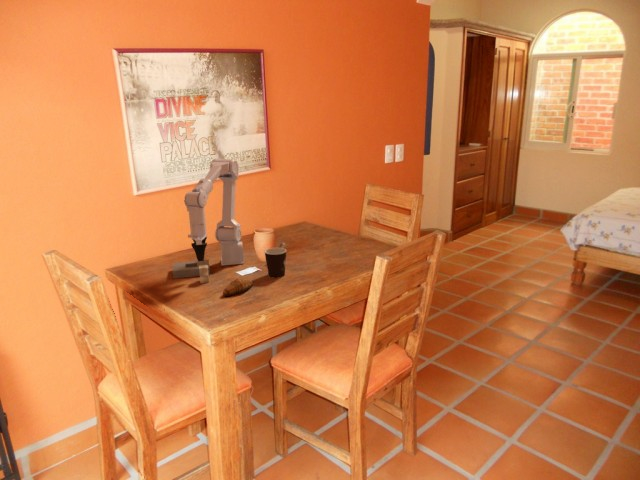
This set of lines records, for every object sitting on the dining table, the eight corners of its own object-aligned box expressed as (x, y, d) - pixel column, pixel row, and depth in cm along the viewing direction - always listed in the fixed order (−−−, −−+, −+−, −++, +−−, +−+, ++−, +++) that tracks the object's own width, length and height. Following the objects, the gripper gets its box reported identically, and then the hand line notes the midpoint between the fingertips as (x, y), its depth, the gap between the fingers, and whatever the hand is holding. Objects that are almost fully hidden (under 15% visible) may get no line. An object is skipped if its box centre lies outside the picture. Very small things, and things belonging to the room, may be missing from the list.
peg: (208, 279, 188) (207, 264, 187) (209, 282, 185) (207, 267, 184) (200, 280, 188) (199, 265, 186) (200, 283, 185) (199, 268, 183)
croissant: (230, 299, 169) (229, 286, 168) (217, 295, 173) (216, 282, 172) (258, 288, 179) (257, 275, 178) (246, 284, 183) (245, 271, 182)
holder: (209, 266, 203) (208, 259, 202) (209, 274, 193) (209, 267, 192) (174, 269, 200) (173, 262, 199) (173, 278, 190) (172, 271, 189)
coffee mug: (278, 280, 186) (277, 255, 183) (261, 276, 190) (259, 252, 188) (296, 271, 195) (295, 247, 193) (279, 267, 200) (277, 244, 197)
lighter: (272, 264, 204) (271, 246, 202) (270, 263, 206) (269, 245, 203) (286, 260, 209) (285, 242, 207) (283, 259, 210) (282, 241, 208)
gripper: (187, 219, 186) (190, 253, 190) (186, 228, 173) (189, 264, 177) (206, 218, 188) (208, 251, 192) (206, 227, 174) (209, 262, 178)
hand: (200, 257), depth 184 cm, fingers open, 7 cm apart
